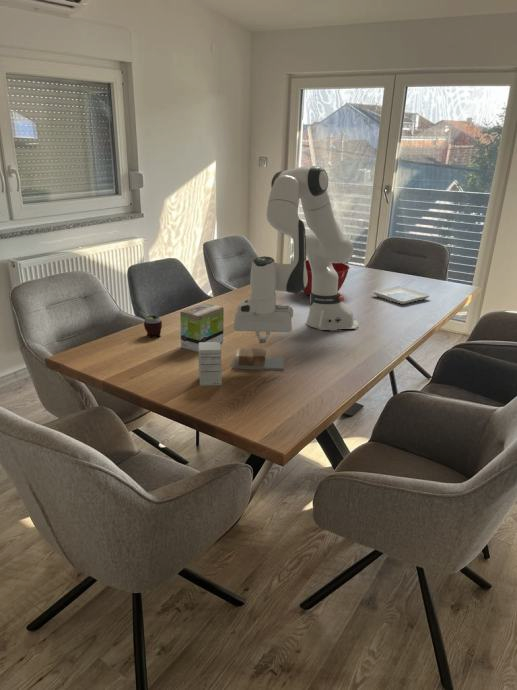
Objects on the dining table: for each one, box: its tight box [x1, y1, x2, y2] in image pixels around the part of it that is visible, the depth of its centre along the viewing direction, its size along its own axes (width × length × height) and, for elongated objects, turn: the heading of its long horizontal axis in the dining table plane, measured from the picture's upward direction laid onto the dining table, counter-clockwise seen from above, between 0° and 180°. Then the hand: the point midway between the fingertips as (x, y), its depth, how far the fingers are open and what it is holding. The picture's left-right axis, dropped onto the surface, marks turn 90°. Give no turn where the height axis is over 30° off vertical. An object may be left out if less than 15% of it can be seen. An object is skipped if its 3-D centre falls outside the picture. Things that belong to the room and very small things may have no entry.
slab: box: [235, 347, 267, 366], centre depth 189 cm, size 4×8×10 cm
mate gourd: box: [143, 298, 166, 339], centre depth 213 cm, size 8×8×15 cm
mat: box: [231, 355, 285, 371], centre depth 190 cm, size 18×10×1 cm, turn 86°
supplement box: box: [197, 342, 223, 387], centre depth 174 cm, size 7×7×13 cm
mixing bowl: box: [302, 259, 351, 296], centre depth 274 cm, size 28×28×15 cm
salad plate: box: [371, 285, 431, 305], centre depth 271 cm, size 21×21×3 cm
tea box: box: [179, 302, 225, 353], centre depth 204 cm, size 15×10×15 cm, turn 148°
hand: (262, 342), depth 187 cm, fingers closed
